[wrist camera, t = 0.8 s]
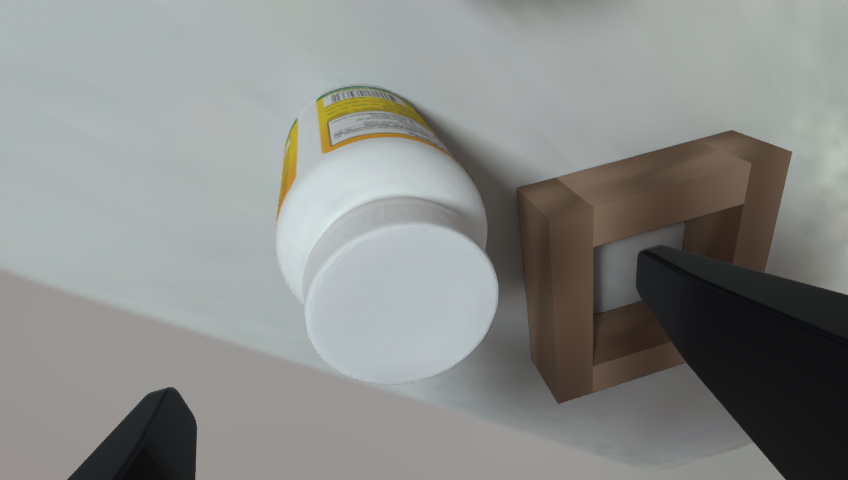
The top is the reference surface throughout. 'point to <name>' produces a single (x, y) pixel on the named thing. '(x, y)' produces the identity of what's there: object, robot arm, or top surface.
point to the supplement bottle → (382, 239)
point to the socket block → (627, 216)
